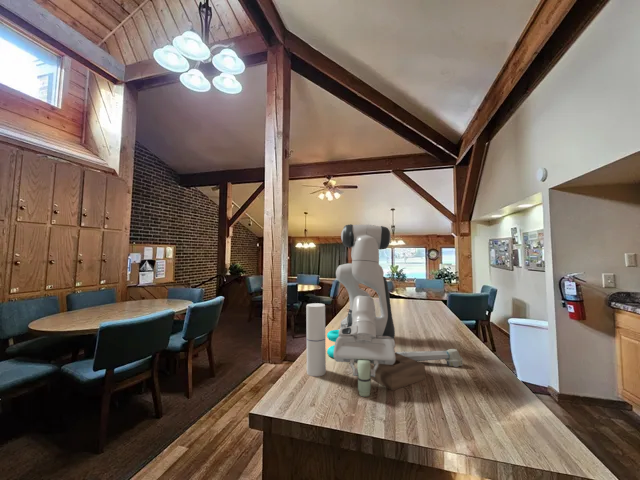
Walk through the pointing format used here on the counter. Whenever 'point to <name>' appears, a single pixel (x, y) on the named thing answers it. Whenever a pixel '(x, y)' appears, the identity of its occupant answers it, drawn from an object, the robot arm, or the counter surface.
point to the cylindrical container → (315, 339)
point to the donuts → (332, 337)
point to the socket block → (399, 372)
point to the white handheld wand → (436, 356)
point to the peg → (364, 378)
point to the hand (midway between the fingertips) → (364, 375)
